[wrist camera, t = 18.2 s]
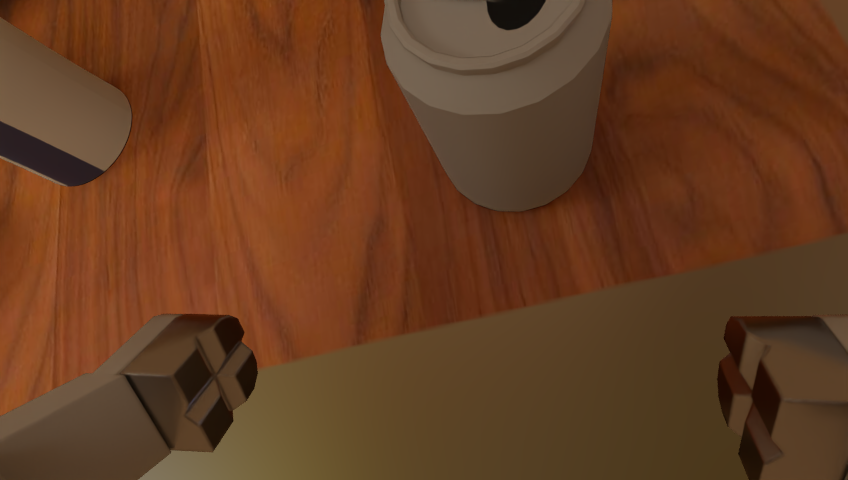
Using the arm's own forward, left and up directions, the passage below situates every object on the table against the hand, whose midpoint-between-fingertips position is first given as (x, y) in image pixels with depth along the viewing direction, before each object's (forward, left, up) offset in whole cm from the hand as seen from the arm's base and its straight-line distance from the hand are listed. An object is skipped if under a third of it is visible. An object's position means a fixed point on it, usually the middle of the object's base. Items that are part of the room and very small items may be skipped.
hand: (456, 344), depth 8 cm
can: (-2, -11, -16) cm, 19 cm away
